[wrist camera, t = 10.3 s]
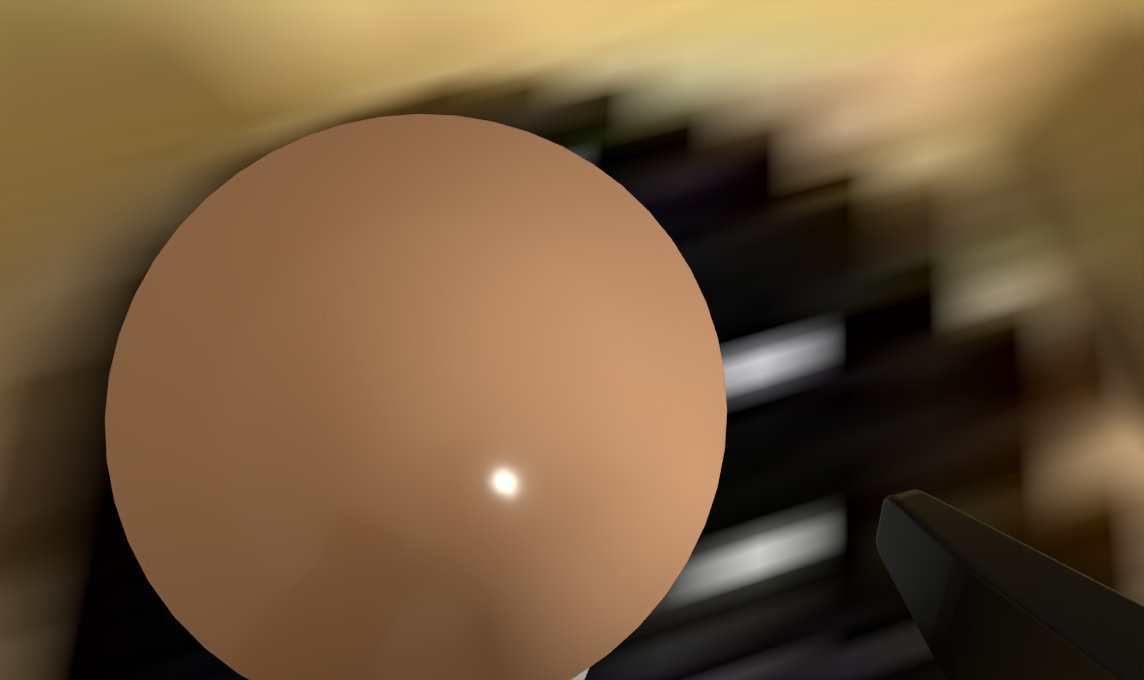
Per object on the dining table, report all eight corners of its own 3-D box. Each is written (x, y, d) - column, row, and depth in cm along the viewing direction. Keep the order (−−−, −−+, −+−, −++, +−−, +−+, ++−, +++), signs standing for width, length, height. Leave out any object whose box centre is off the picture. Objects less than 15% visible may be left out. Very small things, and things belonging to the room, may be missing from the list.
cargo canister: (465, 613, 19) (458, 872, 6) (298, 468, 19) (-44, 427, 6) (603, 443, 20) (835, 366, 7) (447, 308, 20) (413, 7, 8)
